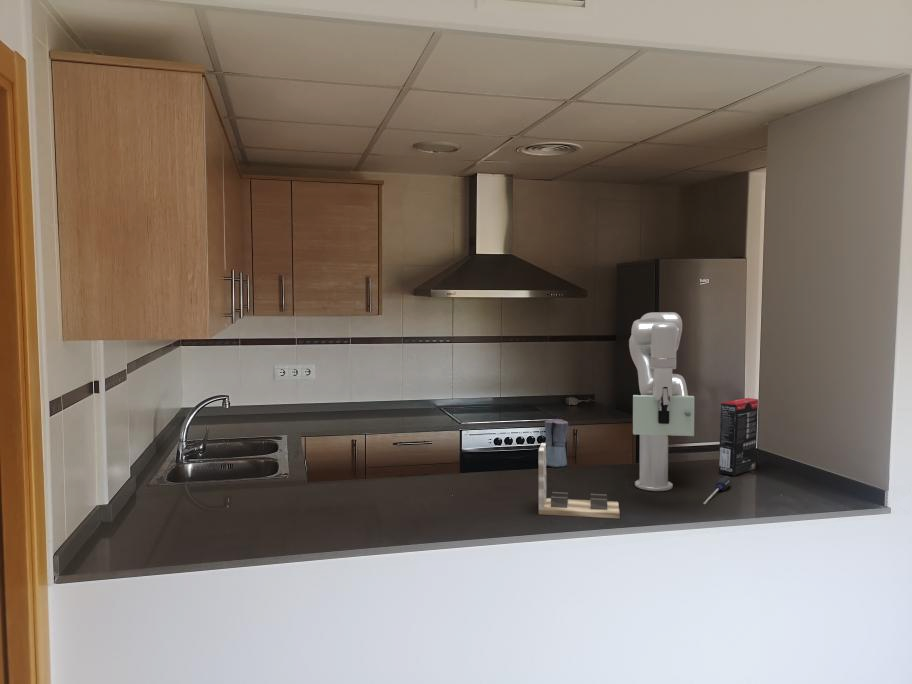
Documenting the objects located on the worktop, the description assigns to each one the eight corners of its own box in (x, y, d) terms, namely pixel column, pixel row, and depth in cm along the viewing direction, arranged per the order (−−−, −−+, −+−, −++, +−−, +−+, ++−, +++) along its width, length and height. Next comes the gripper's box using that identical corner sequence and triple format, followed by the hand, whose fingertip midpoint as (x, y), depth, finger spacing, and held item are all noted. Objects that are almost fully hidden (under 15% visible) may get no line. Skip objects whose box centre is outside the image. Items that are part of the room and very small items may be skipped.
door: (632, 432, 207) (633, 395, 207) (692, 434, 204) (693, 396, 203) (633, 435, 204) (633, 396, 203) (694, 436, 200) (695, 397, 200)
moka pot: (570, 461, 267) (570, 412, 266) (566, 470, 252) (566, 419, 251) (546, 460, 270) (546, 411, 268) (541, 469, 255) (541, 418, 254)
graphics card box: (740, 466, 256) (741, 396, 255) (757, 469, 251) (759, 398, 249) (717, 473, 245) (718, 401, 244) (736, 477, 240) (737, 403, 238)
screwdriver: (709, 505, 208) (709, 494, 208) (697, 504, 210) (697, 492, 210) (732, 487, 228) (732, 476, 228) (722, 485, 231) (722, 475, 230)
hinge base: (541, 502, 212) (541, 442, 211) (618, 506, 208) (618, 445, 206) (538, 514, 201) (538, 451, 200) (619, 518, 196) (619, 453, 195)
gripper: (648, 361, 212) (648, 417, 213) (653, 366, 196) (653, 427, 197) (672, 361, 210) (672, 418, 211) (679, 366, 195) (679, 427, 196)
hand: (663, 422), depth 204 cm, fingers closed on door, 2 cm apart
